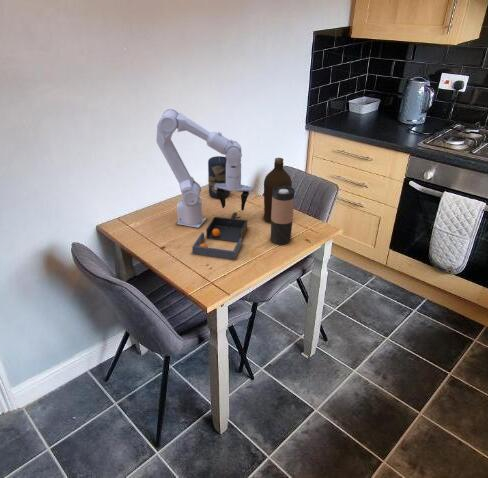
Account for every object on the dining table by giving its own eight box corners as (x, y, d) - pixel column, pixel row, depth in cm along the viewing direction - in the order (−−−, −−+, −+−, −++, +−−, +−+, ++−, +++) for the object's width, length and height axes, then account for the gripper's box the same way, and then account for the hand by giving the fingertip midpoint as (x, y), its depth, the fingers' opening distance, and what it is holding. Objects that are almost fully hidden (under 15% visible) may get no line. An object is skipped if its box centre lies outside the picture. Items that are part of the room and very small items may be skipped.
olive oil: (264, 225, 168) (267, 164, 155) (260, 213, 177) (262, 154, 165) (291, 224, 168) (296, 163, 156) (286, 212, 178) (290, 153, 165)
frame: (202, 239, 159) (201, 232, 158) (242, 244, 155) (242, 237, 154) (192, 253, 151) (192, 246, 149) (234, 259, 147) (234, 252, 145)
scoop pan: (240, 242, 157) (240, 233, 155) (206, 238, 160) (206, 229, 158) (251, 219, 172) (251, 211, 170) (220, 216, 176) (220, 207, 174)
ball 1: (201, 247, 149) (199, 241, 151) (199, 253, 151) (197, 247, 153) (209, 248, 150) (207, 242, 152) (206, 254, 152) (204, 247, 154)
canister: (207, 198, 190) (205, 159, 182) (210, 190, 199) (209, 152, 190) (228, 200, 189) (228, 160, 180) (231, 191, 197) (231, 153, 188)
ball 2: (219, 227, 159) (211, 227, 159) (219, 234, 158) (211, 235, 158) (220, 230, 161) (213, 230, 162) (220, 237, 160) (212, 238, 161)
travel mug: (285, 247, 153) (289, 196, 143) (266, 242, 157) (268, 191, 147) (294, 238, 159) (298, 188, 149) (275, 233, 162) (278, 183, 152)
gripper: (254, 173, 162) (253, 205, 169) (217, 169, 166) (218, 201, 173) (250, 180, 157) (249, 213, 163) (212, 176, 160) (213, 209, 167)
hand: (233, 208), depth 168 cm, fingers open, 7 cm apart
